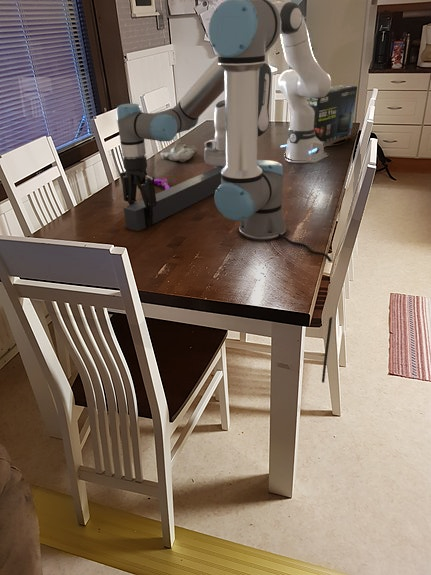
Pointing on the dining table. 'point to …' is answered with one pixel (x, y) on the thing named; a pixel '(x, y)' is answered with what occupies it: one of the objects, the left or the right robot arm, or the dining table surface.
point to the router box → (334, 112)
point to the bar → (174, 199)
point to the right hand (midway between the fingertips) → (226, 177)
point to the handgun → (162, 182)
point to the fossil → (179, 152)
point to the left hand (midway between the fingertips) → (142, 223)
